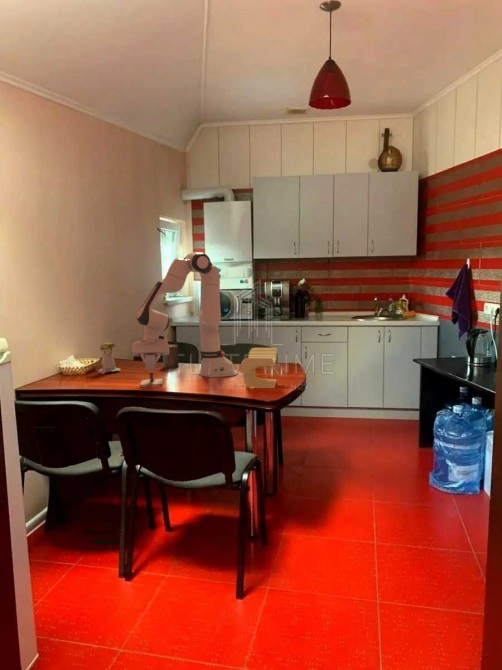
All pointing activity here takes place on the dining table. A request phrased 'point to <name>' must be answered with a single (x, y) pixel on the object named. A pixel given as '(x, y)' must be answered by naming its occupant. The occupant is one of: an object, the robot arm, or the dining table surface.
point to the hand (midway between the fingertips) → (150, 361)
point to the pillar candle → (171, 357)
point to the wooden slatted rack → (255, 360)
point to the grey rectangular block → (150, 361)
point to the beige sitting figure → (107, 358)
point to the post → (152, 382)
